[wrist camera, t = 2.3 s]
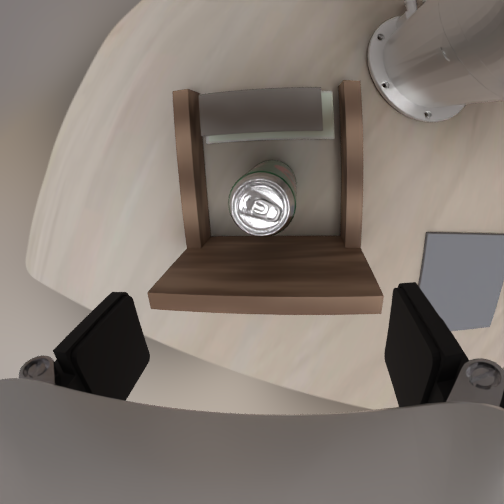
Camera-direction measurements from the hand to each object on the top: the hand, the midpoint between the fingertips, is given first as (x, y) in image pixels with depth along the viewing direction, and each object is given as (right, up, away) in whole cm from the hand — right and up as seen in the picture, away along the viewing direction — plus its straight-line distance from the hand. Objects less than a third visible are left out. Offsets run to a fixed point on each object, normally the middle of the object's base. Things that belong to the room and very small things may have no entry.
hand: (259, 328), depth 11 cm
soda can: (+2, +10, +23) cm, 25 cm away
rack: (+2, +11, +22) cm, 25 cm away
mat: (+27, -2, +24) cm, 36 cm away
